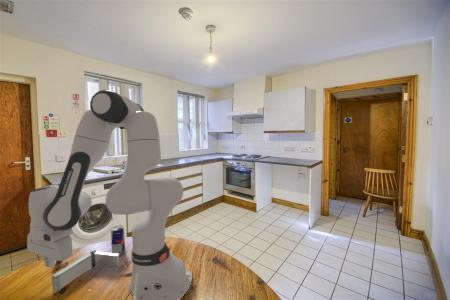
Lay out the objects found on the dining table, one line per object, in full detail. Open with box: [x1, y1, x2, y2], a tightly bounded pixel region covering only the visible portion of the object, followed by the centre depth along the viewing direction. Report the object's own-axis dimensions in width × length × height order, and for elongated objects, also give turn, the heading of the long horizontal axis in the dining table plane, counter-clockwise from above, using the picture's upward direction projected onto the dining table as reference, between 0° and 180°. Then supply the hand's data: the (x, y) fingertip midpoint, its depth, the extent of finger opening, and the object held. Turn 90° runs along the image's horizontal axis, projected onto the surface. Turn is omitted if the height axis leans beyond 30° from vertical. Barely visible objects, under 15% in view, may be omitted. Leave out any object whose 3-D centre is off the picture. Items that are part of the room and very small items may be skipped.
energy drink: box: [110, 224, 126, 256], centre depth 94 cm, size 5×5×12 cm
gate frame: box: [55, 249, 120, 271], centre depth 85 cm, size 29×2×6 cm, turn 81°
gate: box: [51, 253, 93, 293], centre depth 77 cm, size 13×2×5 cm, turn 162°
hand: (50, 266), depth 75 cm, fingers closed
